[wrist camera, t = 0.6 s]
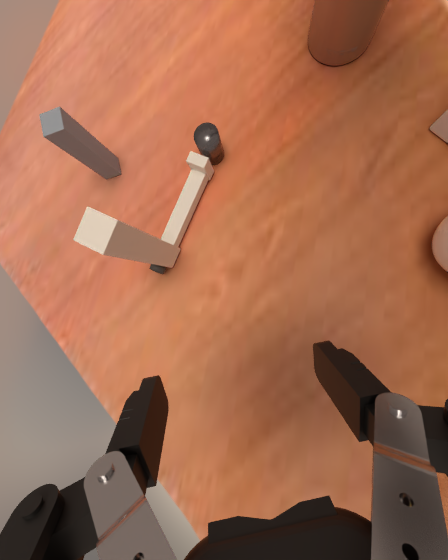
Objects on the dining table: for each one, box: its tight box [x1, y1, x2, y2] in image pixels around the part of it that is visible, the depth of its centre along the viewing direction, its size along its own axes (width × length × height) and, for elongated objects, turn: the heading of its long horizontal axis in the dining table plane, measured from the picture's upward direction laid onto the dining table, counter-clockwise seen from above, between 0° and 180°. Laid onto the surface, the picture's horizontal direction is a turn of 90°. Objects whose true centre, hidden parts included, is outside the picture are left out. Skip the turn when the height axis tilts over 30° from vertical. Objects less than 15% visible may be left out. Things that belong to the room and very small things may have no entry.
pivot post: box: [194, 123, 224, 165], centre depth 36 cm, size 4×4×5 cm
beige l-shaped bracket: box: [73, 151, 214, 274], centre depth 30 cm, size 19×4×17 cm, turn 155°
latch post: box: [40, 107, 121, 179], centre depth 35 cm, size 3×3×12 cm
